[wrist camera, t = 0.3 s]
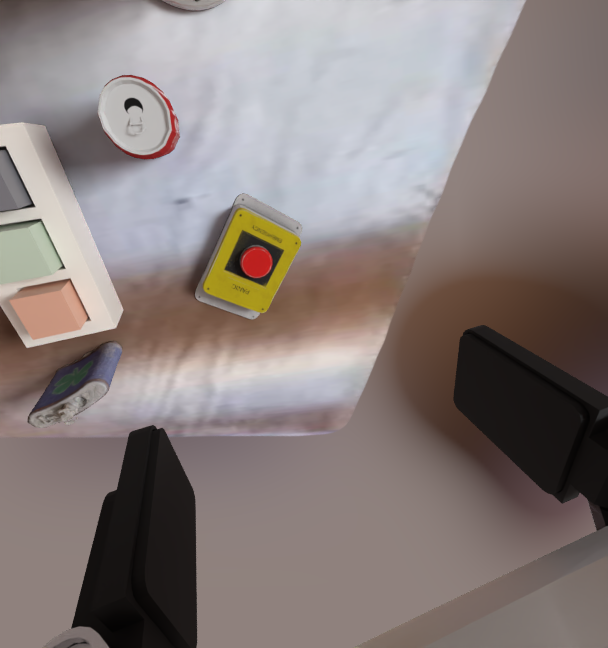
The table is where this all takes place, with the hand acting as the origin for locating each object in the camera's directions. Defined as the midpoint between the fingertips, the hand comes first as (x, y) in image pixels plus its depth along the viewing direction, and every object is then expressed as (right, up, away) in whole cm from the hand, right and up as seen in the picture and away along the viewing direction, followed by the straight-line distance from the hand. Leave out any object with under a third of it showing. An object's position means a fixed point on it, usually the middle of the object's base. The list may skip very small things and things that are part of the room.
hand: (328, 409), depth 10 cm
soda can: (-17, +23, +24) cm, 38 cm away
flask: (-29, -2, +34) cm, 44 cm away
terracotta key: (-27, +5, +26) cm, 38 cm away
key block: (-29, +12, +26) cm, 41 cm away
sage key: (-28, +10, +23) cm, 37 cm away
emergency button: (-8, +11, +34) cm, 37 cm away
